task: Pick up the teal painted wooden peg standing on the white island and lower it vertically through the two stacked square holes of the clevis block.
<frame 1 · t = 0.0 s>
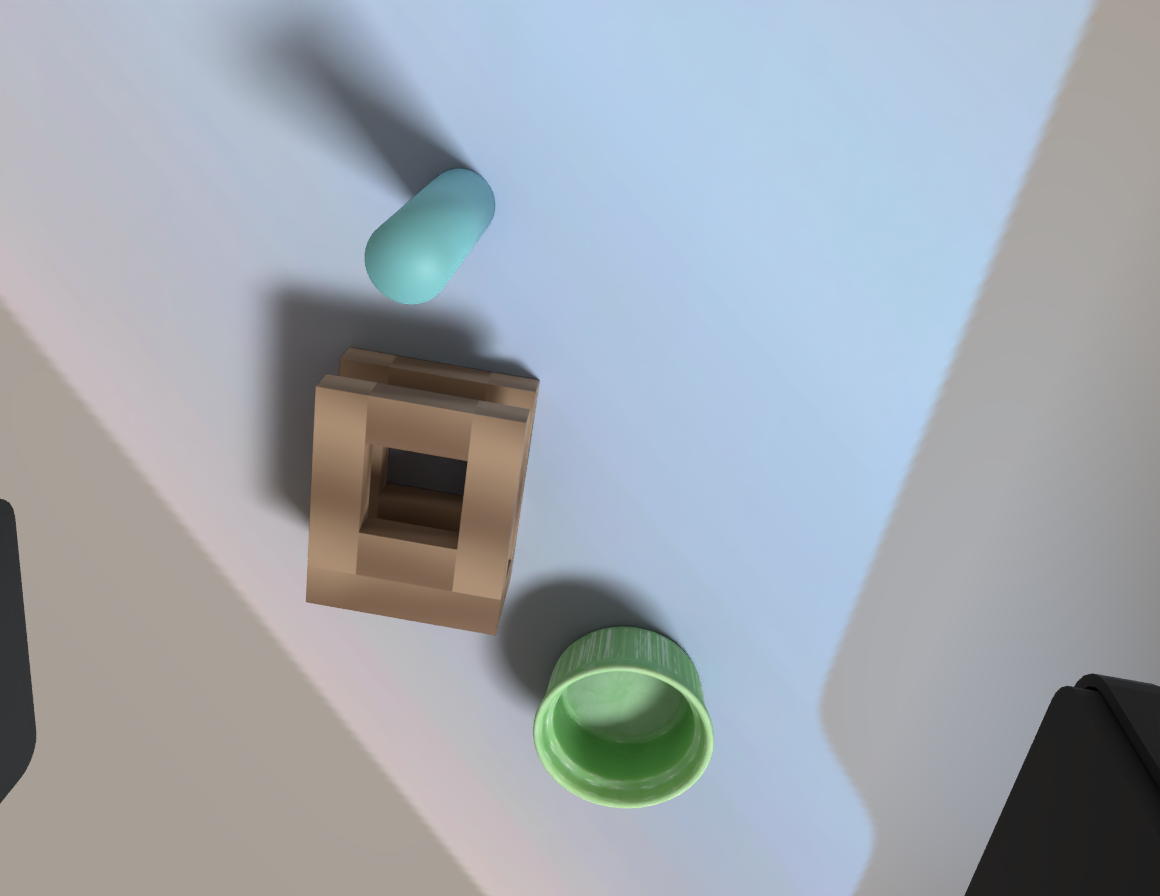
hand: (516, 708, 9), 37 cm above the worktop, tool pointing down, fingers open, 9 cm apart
ramekin: (626, 682, 55), on the worktop
peg: (461, 203, 44), on the worktop
clevis block: (435, 449, 49), on the worktop
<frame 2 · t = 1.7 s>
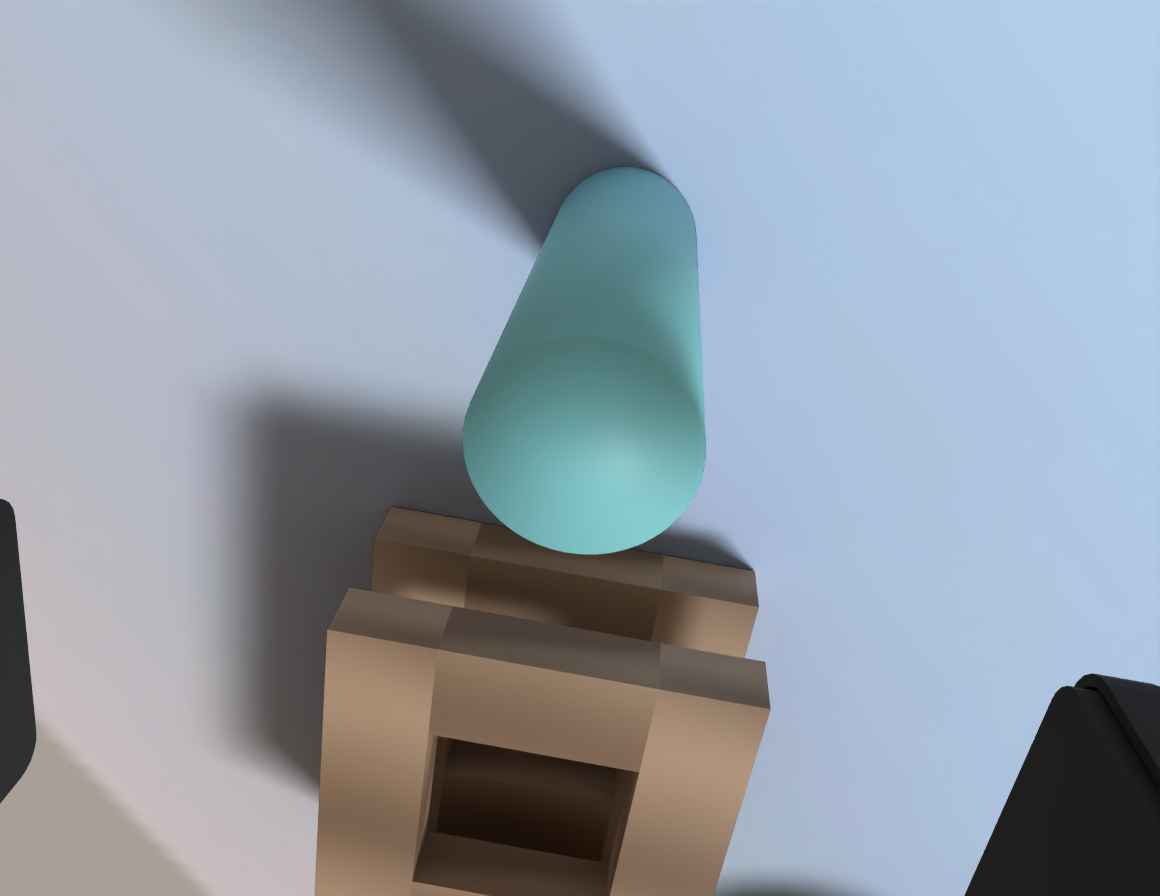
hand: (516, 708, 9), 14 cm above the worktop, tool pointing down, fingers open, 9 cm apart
peg: (624, 239, 21), on the worktop
clevis block: (547, 682, 27), on the worktop
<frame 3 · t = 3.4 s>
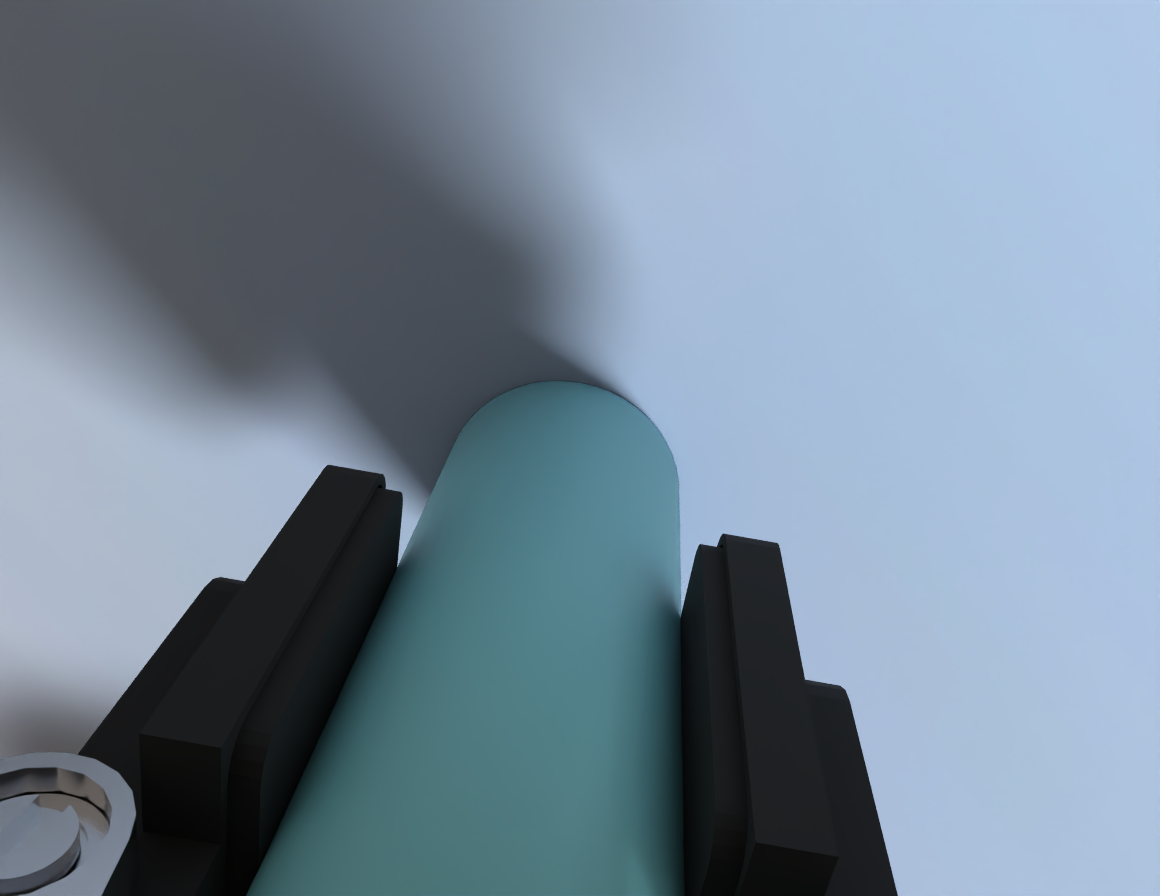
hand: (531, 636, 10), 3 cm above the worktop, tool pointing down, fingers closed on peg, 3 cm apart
peg: (562, 489, 13), on the worktop, touching gripper
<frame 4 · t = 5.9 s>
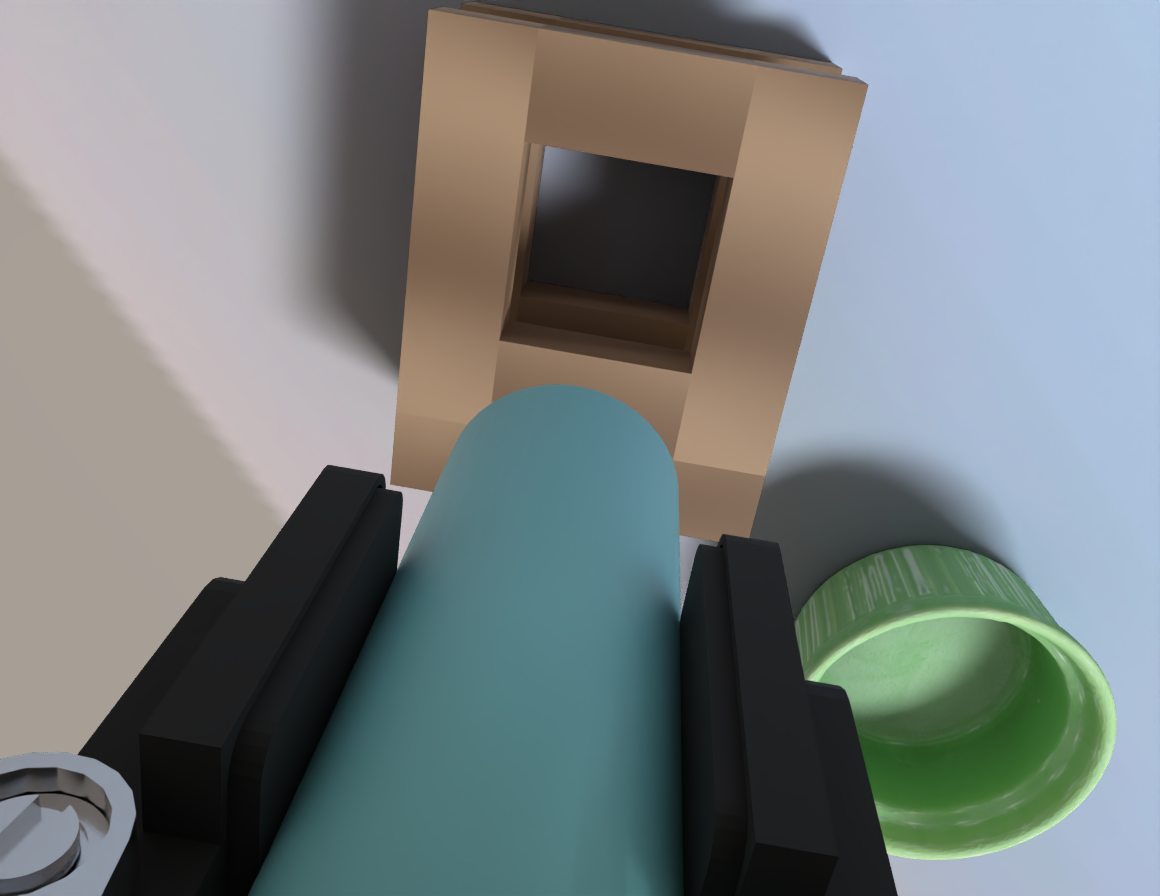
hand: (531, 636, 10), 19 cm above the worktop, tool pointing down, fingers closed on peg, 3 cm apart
ramekin: (912, 644, 32), on the worktop
peg: (561, 493, 13), point 16 cm above the worktop, touching gripper
clevis block: (621, 213, 27), on the worktop
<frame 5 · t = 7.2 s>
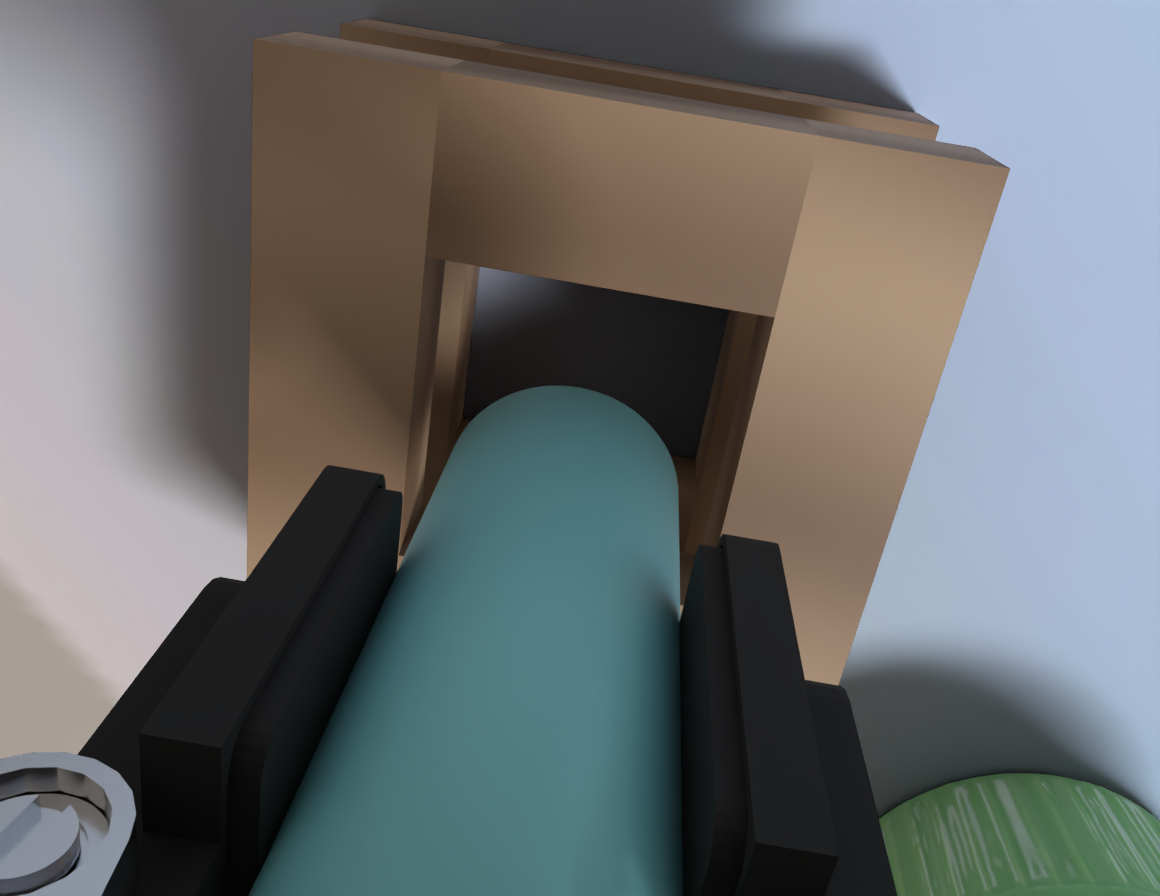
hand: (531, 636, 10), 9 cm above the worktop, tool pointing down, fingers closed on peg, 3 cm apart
ramekin: (998, 889, 24), on the worktop
peg: (561, 494, 13), point 6 cm above the worktop, touching gripper
clevis block: (597, 327, 18), on the worktop
when the fingers open (6 cm above the worktop, at t = 8.4 s): peg drops 3 cm, resting in clevis block.
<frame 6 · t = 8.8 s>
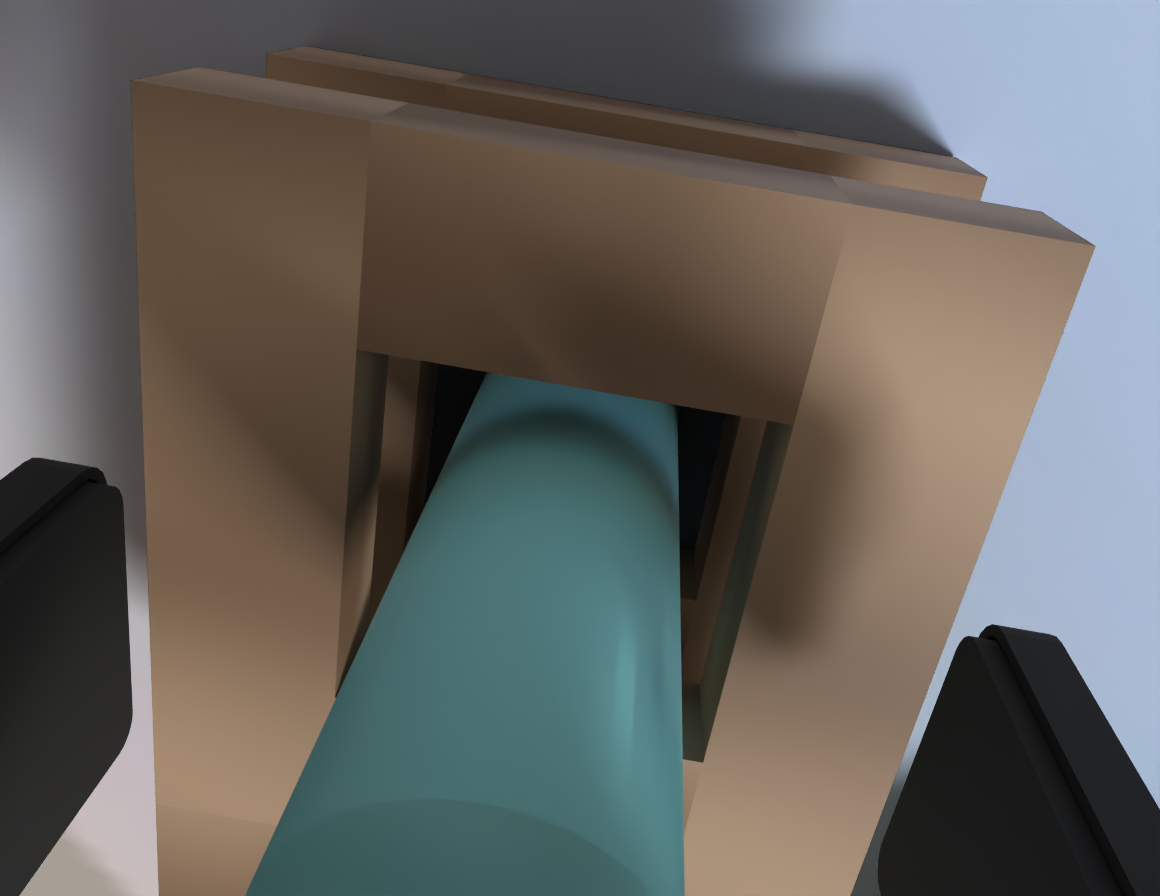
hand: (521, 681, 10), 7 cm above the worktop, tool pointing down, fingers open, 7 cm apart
peg: (580, 401, 16), resting in clevis block
clevis block: (580, 402, 16), on the worktop
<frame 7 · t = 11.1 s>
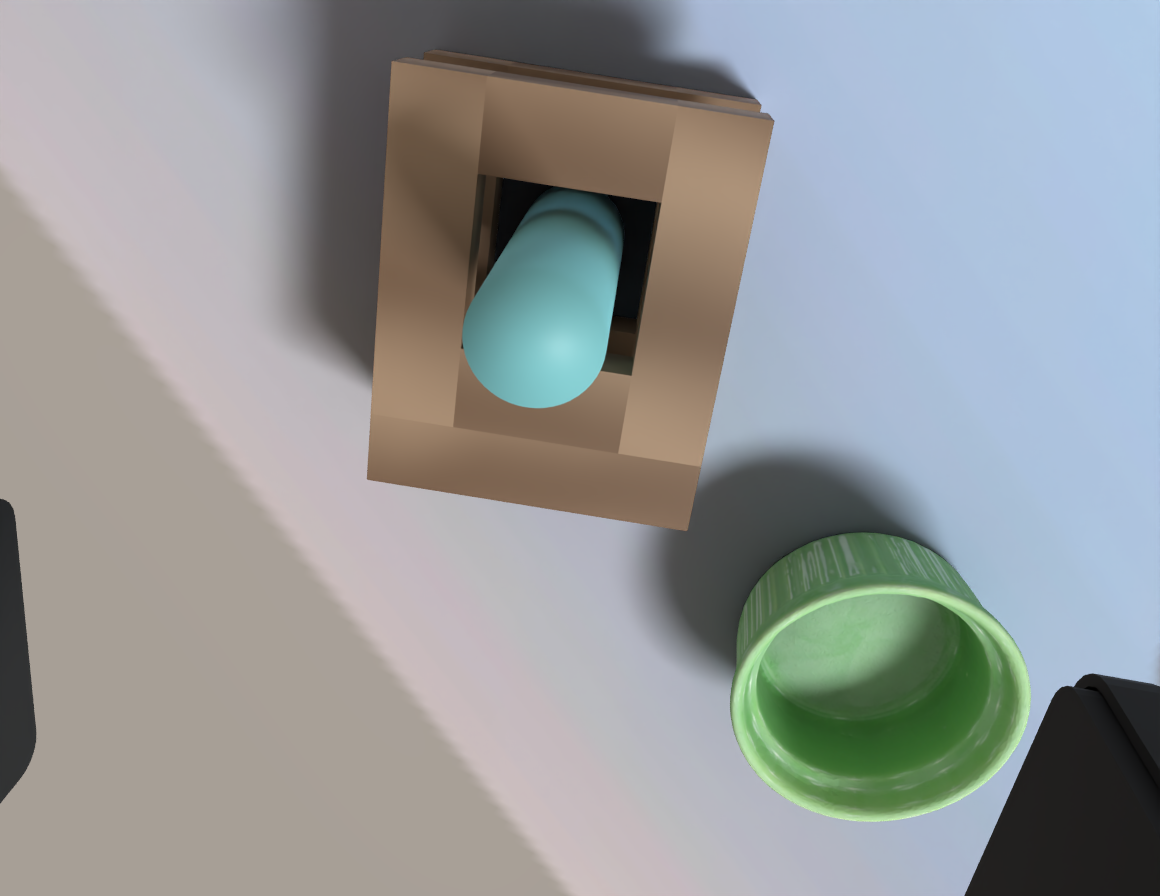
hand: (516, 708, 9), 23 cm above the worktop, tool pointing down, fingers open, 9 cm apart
ramekin: (853, 626, 35), on the worktop
peg: (573, 234, 30), resting in clevis block
clevis block: (573, 234, 30), on the worktop
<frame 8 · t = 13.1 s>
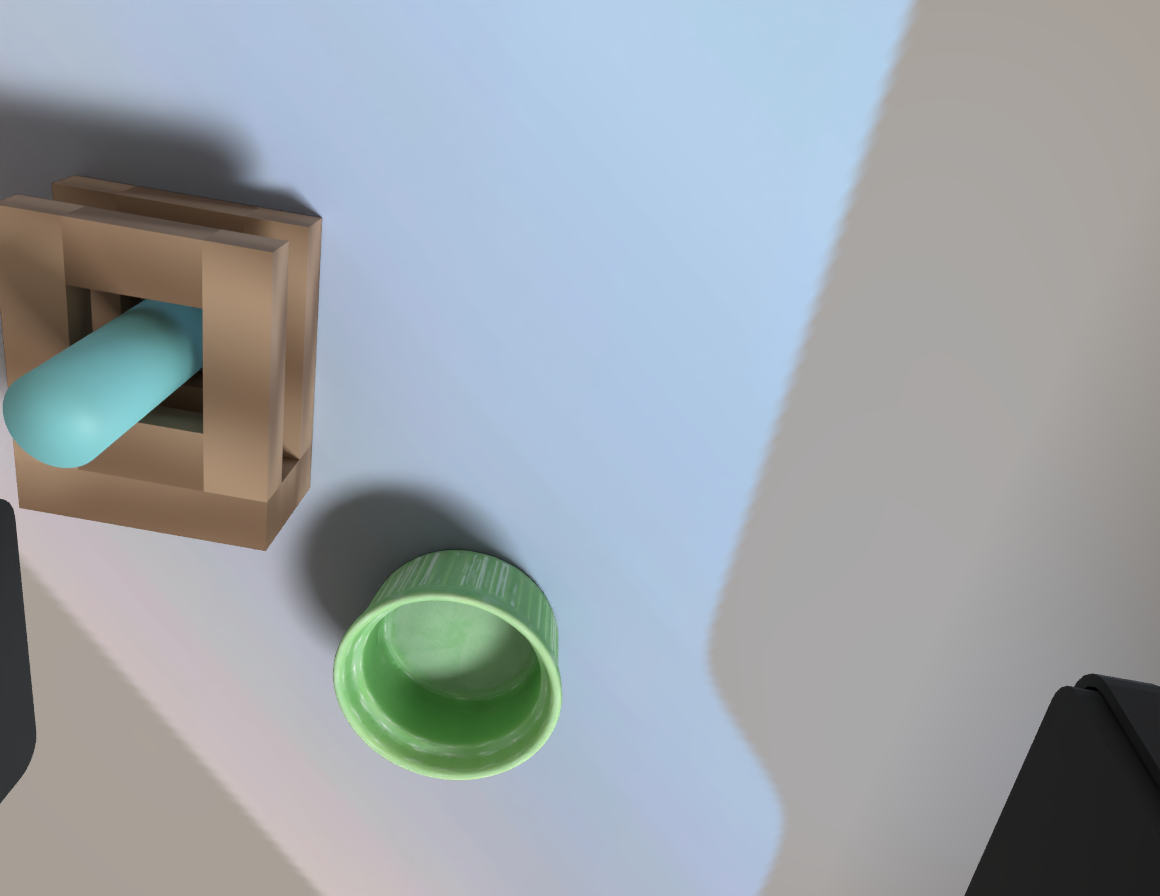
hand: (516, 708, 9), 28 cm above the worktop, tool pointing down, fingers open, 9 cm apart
ramekin: (466, 624, 44), on the worktop
peg: (199, 315, 38), resting in clevis block
clevis block: (199, 315, 38), on the worktop
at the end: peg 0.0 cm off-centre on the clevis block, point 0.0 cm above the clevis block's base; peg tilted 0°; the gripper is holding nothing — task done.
